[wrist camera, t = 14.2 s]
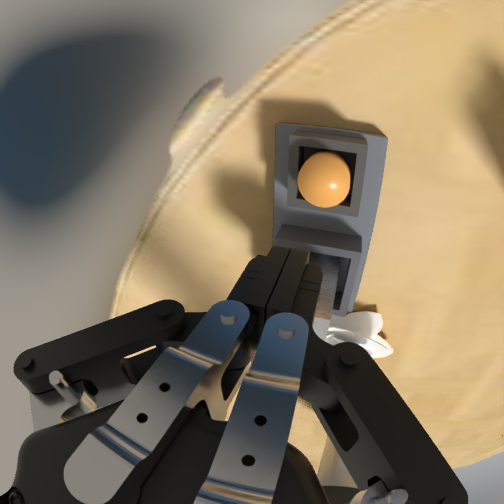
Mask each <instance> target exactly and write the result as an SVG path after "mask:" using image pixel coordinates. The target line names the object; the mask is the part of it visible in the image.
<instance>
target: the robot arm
mask: <svg viewBox="0 0 504 504" xmlns="http://www.w3.org/2000/svg"><path fill="white" fill-rule="evenodd" d="M309 256H310V252H309V251H304V250H298V249H291V248H286V247H280V246H275V245H273V246H272V248H271V250H270V252H269V254H268V256H261V255H258V256H256V257H255V258H253V259H252V260H251V261H249V263H248V265H247V266H246V268H245V271H243V273H242V275H241V277H240V278H239V279H238V281H237V283H236V284H235V286H234V288H233V289H232V291H231V293H230V294H229V296H228V298H227V299H226V300H225V301H221V302H218V303H216V304H214V305H213V306H212V307H211V308H210V309H209V310H208V312H185V310H184V307H183V306H182V304H181V303H179V302H177V301H175V300H161V301H158V302H155V303H153V304H150V305H148V306H145V307H142V308H140V309H137V310H134V311H132V312H129V313H126V314H124V315H121V316H118V317H116V318H113V319H110V320H108V321H105V322H102V323H99V324H97V325H94V326H91V327H89V328H86V329H83V330H81V331H78V332H75V333H72V334H70V335H67V336H64V337H61V338H59V339H56V340H53V341H50V342H48V343H45V344H42V345H40V346H37V347H34V348H31V349H28V350H26V351H24V352H22V353H21V354H20V355H19V356H18V358H17V359H16V361H15V364H14V374H15V375H16V377H17V378H18V379H19V380H20V381H21V382H22V383H23V385H24V386H25V387H26V388H27V390H28V391H29V393H30V402H31V411H32V419H33V425H34V433H32V434H31V435H29V436H28V437H27V438H26V439H25V441H24V442H23V444H22V445H21V448H20V451H19V455H18V463H17V470H16V475H15V479H14V482H13V485H12V487H11V488H10V490H9V491H8V492H6V493H5V494H3V495H2V496H0V504H468V495H467V492H466V490H465V488H464V487H463V485H462V484H461V482H460V481H459V479H458V478H457V476H456V475H455V473H454V472H453V470H452V469H451V467H450V466H449V464H448V463H447V461H446V460H445V458H444V457H443V455H442V454H441V452H440V451H439V450H438V448H437V447H436V445H435V444H434V442H433V441H432V439H431V438H430V437H429V435H428V434H427V432H426V431H425V429H424V428H423V427H422V425H421V424H420V422H419V421H418V420H417V418H416V417H415V415H414V414H413V413H412V411H411V410H410V408H409V407H408V406H407V404H406V403H405V402H404V400H403V399H402V397H401V396H400V395H399V393H398V392H397V391H396V389H395V388H394V387H393V385H392V384H391V382H390V381H389V380H388V378H387V377H386V376H385V374H384V373H383V372H382V370H381V369H380V368H379V366H378V365H377V364H376V362H375V361H374V360H373V358H372V357H371V356H370V354H369V353H368V352H367V351H366V350H365V349H364V348H363V347H362V346H360V345H358V344H356V343H352V342H342V343H338V344H336V345H334V346H333V345H331V344H329V343H327V342H325V341H323V340H322V339H321V338H319V337H318V336H317V335H316V333H315V332H314V329H313V323H314V319H315V315H316V311H317V307H318V302H319V297H320V291H321V286H322V280H323V273H322V270H321V267H320V266H317V265H312V264H309ZM154 345H156V348H154V349H151V350H149V351H146V352H144V353H141V354H139V355H136V356H133V357H131V358H124V357H126V356H128V355H131V354H134V353H136V352H139V351H141V350H144V349H146V348H149V347H151V346H154ZM255 350H257V351H256V354H255V357H254V360H253V364H252V367H251V370H250V372H249V374H247V372H248V370H249V368H250V366H251V359H252V357H253V355H254V353H255ZM240 385H241V386H240ZM239 387H240V389H239V392H238V395H237V397H236V400H235V403H234V406H233V409H232V411H231V414H230V417H229V420H228V421H224V420H225V418H226V414H227V409H228V407H229V404H230V403H231V401H232V399H233V397H234V395H235V394H236V392H237V390H238V388H239ZM297 396H300V397H302V398H303V399H305V400H307V401H309V402H310V403H312V407H313V409H314V411H315V413H316V415H317V417H318V418H319V420H320V422H321V424H322V426H323V427H324V429H325V431H326V433H327V439H326V444H325V448H324V452H323V455H322V459H321V463H320V467H319V470H318V474H317V475H316V473H315V471H314V469H313V467H312V465H311V463H310V462H309V461H308V459H307V458H306V457H305V456H304V454H303V453H302V452H301V451H299V450H298V449H297V448H296V447H294V446H293V445H291V444H290V443H288V437H289V433H290V429H291V424H292V420H293V415H294V411H295V406H296V401H297ZM124 398H126V399H124ZM122 399H124V400H122ZM119 400H121V401H119ZM116 401H118V402H116ZM113 402H116V403H113ZM111 403H113V404H111ZM108 404H111V405H108ZM105 405H108V406H106V407H103V408H101V409H98V410H96V408H99V407H102V406H105Z"/></svg>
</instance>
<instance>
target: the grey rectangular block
mask: <svg viewBox="0 0 504 504" xmlns="http://www.w3.org/2000/svg"><path fill="white" fill-rule="evenodd" d="M298 250H299V249H298ZM304 251H305V250H304ZM309 252H310V251H309ZM340 258H341V257H339V256H333V255H327V254H322V253H316V252H310V256H309V264H312V265H317V266H320V267H321V270H322V273H323V280H322V286H321V291H320V297H319V302H318V307H317V311H316V315H315V319H314V323H313V329H314V332H315V333H316V335H317V336H318V337H319V338H321V339H322V340H323V341H325V340H326V336H327V332H328V329H329V325H330V320H331V315H332V309H333V304H334V298H335V292H336V285H337V279H338V272H339V265H340Z"/></svg>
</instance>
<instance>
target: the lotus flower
mask: <svg viewBox="0 0 504 504" xmlns="http://www.w3.org/2000/svg"><path fill="white" fill-rule="evenodd" d="M381 329H382V317H381V314H380V313H376V312H371V311H362V312H353V313H348V314H347V315H346V316H345V317H342V316H336V315H331V320H330V325H329V329H328V332H327V336H326V340H325V342H327V343H329V344H331V345H333V346H334V345H336V344H338V343H342V342H352V343H356V344H358V345H360V346H362V347H363V348H364V349H365V350H366V351H367V352H368V353H369V354H370V356H371V357H372V358H383V357H386V356H388V355H390V354H391V353H393V352H394V350H393V349H392V347H391V345H390V344H389V343H388V342H387V341H386V340H384V339H383V338H382V337H381V336H379V335H378V333H379V332H380V330H381ZM373 360H374V359H373Z"/></svg>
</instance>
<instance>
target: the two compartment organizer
mask: <svg viewBox="0 0 504 504" xmlns="http://www.w3.org/2000/svg"><path fill="white" fill-rule="evenodd" d="M387 142H388V138H387V137H386V136H383V135H378V134H372V133H367V132H360V131H354V130H347V129H340V128H332V127H324V126H315V125H305V124H293V123H277V124H276V128H275V181H274V218H273V245H275V246H280V247H286V248H291V249H299V250H305V251H310V252H316V253H322V254H327V255H333V256H339V257H341V258H340V265H339V272H338V279H337V285H336V292H335V298H334V304H333V309H332V315H336V316H342V317H345V316H346V312H351V313H352V310H353V306H354V303H355V299H356V296H357V292H358V289H359V285H360V281H361V278H362V274H363V270H364V266H365V262H366V258H367V254H368V249H369V245H370V241H371V236H372V232H373V227H374V222H375V217H376V212H377V207H378V202H379V196H380V190H381V184H382V178H383V172H384V165H385V158H386V150H387ZM321 149H330V150H334V151H337V152H339V153H340V154H341V155H343V156H344V157H345V159H346V160H347V162H348V163H349V166H350V188H349V192H348V194H347V196H346V198H345V199H344V200H343V201H342V202H341V203H339V204H338V205H336V206H333V207H328V208H323V207H318V206H315V205H313V204H311V203H309V202H308V201H307V200H306V199H305V198H304V197H303V196H302V194H301V193H300V191H299V188H298V182H297V179H298V174H299V171H300V169H301V168H302V166H303V165H304V163H305V162H306V160H307V159H308V157H309V156H310V155H311V154H312V153H314V152H316V151H318V150H321Z"/></svg>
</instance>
